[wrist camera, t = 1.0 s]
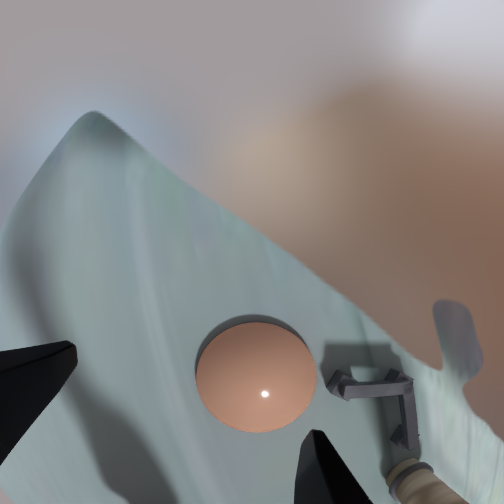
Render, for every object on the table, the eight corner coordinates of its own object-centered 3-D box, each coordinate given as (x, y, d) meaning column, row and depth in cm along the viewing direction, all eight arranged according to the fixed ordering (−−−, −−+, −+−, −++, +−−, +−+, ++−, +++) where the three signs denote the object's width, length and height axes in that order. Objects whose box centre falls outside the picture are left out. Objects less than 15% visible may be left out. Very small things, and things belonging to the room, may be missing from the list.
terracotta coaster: (274, 446, 22) (274, 448, 21) (177, 392, 23) (175, 394, 23) (336, 357, 24) (338, 358, 23) (236, 299, 25) (235, 299, 24)
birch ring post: (402, 491, 19) (447, 543, 7) (374, 486, 20) (417, 548, 7) (429, 459, 20) (486, 503, 7) (403, 451, 21) (462, 505, 8)
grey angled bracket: (401, 442, 21) (413, 454, 18) (312, 407, 23) (318, 419, 20) (434, 390, 22) (450, 397, 19) (351, 346, 24) (363, 351, 21)
